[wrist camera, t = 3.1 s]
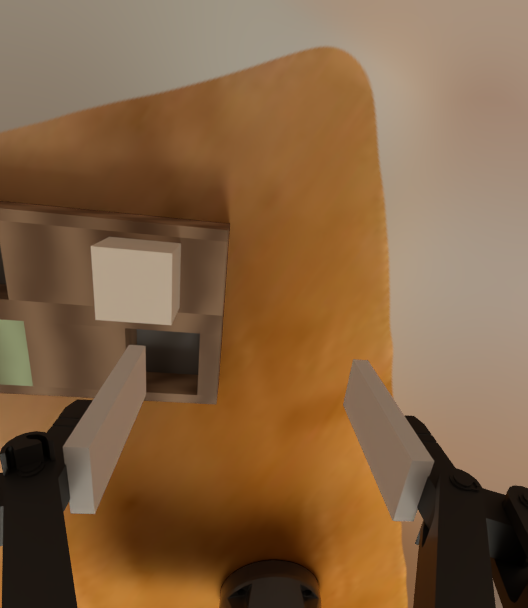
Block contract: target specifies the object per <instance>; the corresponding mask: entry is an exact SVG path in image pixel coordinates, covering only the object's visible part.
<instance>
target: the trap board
mask: <svg viewBox="0 0 528 608" xmlns="http://www.w3.org/2000/svg"><path fill="white" fill-rule="evenodd" d="M229 231H230V224H227V223H217V222H207V221H197V220H186V219H176V218H166V217H156V216H146V215H136V214H126V213H115V212H105V211H95V210H85V209H75V208H65V207H55V206H44V205H34V204H24V203H14V202H4V201H0V393H10V394H29V395H48V396H67V397H86V398H95V396H96V395H97V393H98V392H99V390H100V389H101V387H102V386H103V384H104V383H105V381H106V379H107V378H108V376H109V375H110V373H111V372H112V370H113V369H114V367H115V366H116V364H117V363H118V361H119V359H120V358H121V356H122V355H123V353H124V352H125V350H126V349H127V347H128V346H129V345H141V346H146V396H145V398H144V401H162V402H181V403H200V404H216V403H217V394H218V385H219V372H220V358H221V344H222V330H223V316H224V302H225V288H226V274H227V259H228V245H229ZM108 237H118V238H129V239H140V240H151V241H161V242H172V243H181V264H180V307H179V310H178V312H177V314H176V316H175V318H174V321H173V323H172V325H159V324H145V323H131V322H118V321H104V320H95V305H94V290H93V275H92V260H91V246H92V245H94V244H96V243H98V242H100V241H102V240H104V239H106V238H108Z"/></svg>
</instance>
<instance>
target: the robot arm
mask: <svg viewBox="0 0 528 608" xmlns="http://www.w3.org/2000/svg"><path fill="white" fill-rule="evenodd" d="M145 396H146V346H141V345H129V346H128V347H127V349H126V350H125V352H124V353H123V355H122V356H121V358H120V359H119V361H118V363H117V364H116V366H115V367H114V369H113V370H112V372H111V373H110V375H109V376H108V378H107V379H106V381H105V383H104V384H103V386H102V387H101V389H100V390H99V392H98V393H97V395H96V396H95V398H94V399H93V400H76V401H74V402H73V403H72V404H70V405H69V406H67V407H66V408H65V409H64V410H63V412H62V413H61V414H60V416H59V418H58V419H57V420H56V421H55V422H54V424H53V426H52V427H51V428H50V429H49V431H48V432H47V433H45V432H37V431H35V432H29V433H25V434H22V435H19V436H17V437H15V438H13V439H12V440H10V441H8V442H7V443H6V444H5V445H4V446H3V447H2V449H1V452H0V460H1V464H2V469H3V473H0V546H3V571H2V608H77V602H76V595H75V588H74V582H73V575H72V568H71V561H70V555H69V548H68V541H67V534H66V527H65V521H64V514H63V512H64V510H65V508H66V506H67V504H68V502H69V504H70V512H71V513H79V514H95V512H96V510H97V508H98V505H99V503H100V501H101V498H102V496H103V494H104V491H105V489H106V487H107V484H108V482H109V480H110V477H111V475H112V473H113V470H114V468H115V466H116V463H117V461H118V459H119V457H120V454H121V452H122V450H123V447H124V445H125V443H126V440H127V438H128V436H129V433H130V431H131V429H132V426H133V424H134V422H135V419H136V417H137V415H138V412H139V410H140V408H141V405H142V403H143V401H144V398H145ZM343 406H344V408H345V410H346V413H347V415H348V417H349V420H350V422H351V424H352V427H353V429H354V431H355V434H356V436H357V438H358V441H359V443H360V445H361V448H362V450H363V452H364V455H365V457H366V459H367V462H368V464H369V466H370V469H371V471H372V473H373V476H374V478H375V480H376V483H377V485H378V487H379V490H380V492H381V494H382V497H383V499H384V501H385V504H386V506H387V508H388V511H389V513H390V515H391V518H392V520H393V521H414V518H415V515H416V513H417V510H419V512H420V514H421V516H422V518H423V524H422V526H421V529H420V531H419V534H418V537H417V540H416V542H415V544H417V545H419V551H418V562H417V573H416V583H415V594H414V606H413V608H496V607H495V598H494V589H493V581H494V583H495V586H496V589H497V592H498V594H499V597H500V600H501V603H502V606H503V608H528V488H525V487H523V486H512V487H510V488H509V490H508V491H507V494H506V495H504V494H500V493H497V492H493V491H490V490H486V489H483V488H482V487H481V485H480V484H479V482H478V481H477V480H476V479H475V478H474V477H472V476H471V475H470V474H468V473H466V472H464V471H462V470H460V469H456V468H455V467H454V466H453V464H452V463H451V461H450V460H449V458H448V457H447V455H446V454H445V453H444V451H443V450H442V448H441V447H440V446H439V444H438V443H436V440H435V439H434V437H433V436H432V435H431V433H430V432H429V431H428V429H427V428H426V426H425V425H424V424H423V423H422V422H421V421H419V420H418V419H417V418H416V417H414V416H404V415H403V413H402V411H401V410H400V408H399V407H398V405H397V404H396V402H395V401H394V399H393V398H392V396H391V395H390V393H389V392H388V390H387V389H386V387H385V386H384V384H383V383H382V381H381V380H380V378H379V376H378V375H377V373H376V372H375V370H374V369H373V367H372V366H371V364H370V363H369V361H368V360H355V359H353V363H352V367H351V372H350V376H349V381H348V385H347V390H346V395H345V399H344V404H343ZM492 578H493V579H492ZM219 608H321V597H320V592H319V586H318V582H317V580H316V578H315V577H314V575H313V574H312V573H311V572H310V571H309V570H307V569H306V568H304V567H302V566H300V565H298V564H295V563H292V562H287V561H279V560H270V561H261V562H256V563H253V564H250V565H247V566H245V567H242V568H241V569H239V570H237V571H236V572H234V573H233V574H232V575H230V576H229V577H228V578H227V580H226V581H225V582H224V584H223V586H222V588H221V592H220V607H219Z"/></svg>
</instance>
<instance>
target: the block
mask: <svg viewBox="0 0 528 608" xmlns="http://www.w3.org/2000/svg"><path fill="white" fill-rule="evenodd" d="M91 260H92V275H93V290H94V305H95V320H104V321H118V322H131V323H145V324H159V325H172V323H173V321H174V318H175V316H176V314H177V312H178V310H179V307H180V264H181V243H172V242H161V241H151V240H140V239H129V238H118V237H108V238H106V239H104V240H102V241H100V242H98V243H96V244H94V245H92V246H91Z"/></svg>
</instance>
